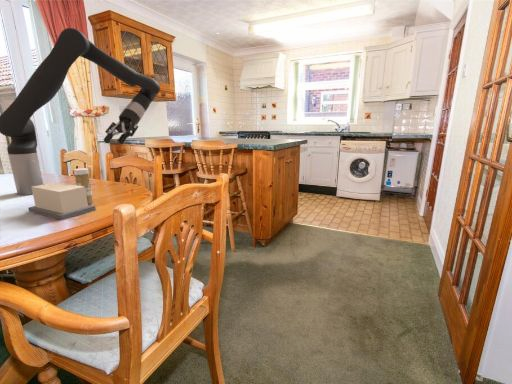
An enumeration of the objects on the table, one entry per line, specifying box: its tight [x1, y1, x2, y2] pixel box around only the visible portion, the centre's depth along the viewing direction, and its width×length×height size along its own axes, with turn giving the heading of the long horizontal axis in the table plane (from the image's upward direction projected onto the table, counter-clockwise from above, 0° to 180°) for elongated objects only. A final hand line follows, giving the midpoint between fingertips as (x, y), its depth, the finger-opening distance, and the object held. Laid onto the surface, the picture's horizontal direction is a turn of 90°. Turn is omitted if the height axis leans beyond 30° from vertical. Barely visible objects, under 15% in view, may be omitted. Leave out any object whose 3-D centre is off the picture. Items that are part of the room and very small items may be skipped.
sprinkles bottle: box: [73, 167, 94, 205], centre depth 97 cm, size 5×5×13 cm
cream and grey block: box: [27, 181, 97, 221], centre depth 89 cm, size 19×11×9 cm, turn 65°
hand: (112, 142), depth 107 cm, fingers open, 8 cm apart
